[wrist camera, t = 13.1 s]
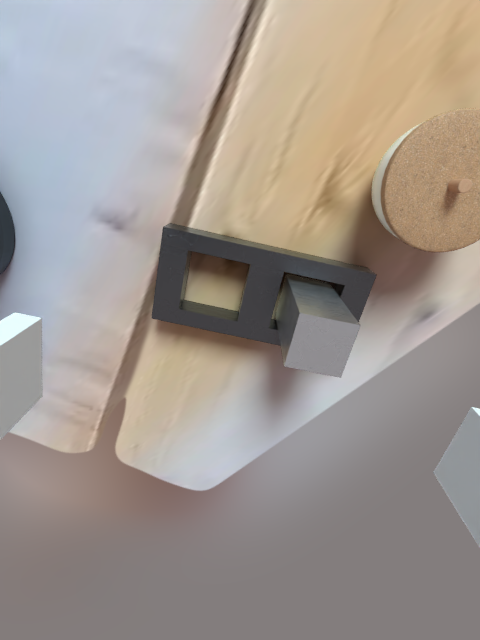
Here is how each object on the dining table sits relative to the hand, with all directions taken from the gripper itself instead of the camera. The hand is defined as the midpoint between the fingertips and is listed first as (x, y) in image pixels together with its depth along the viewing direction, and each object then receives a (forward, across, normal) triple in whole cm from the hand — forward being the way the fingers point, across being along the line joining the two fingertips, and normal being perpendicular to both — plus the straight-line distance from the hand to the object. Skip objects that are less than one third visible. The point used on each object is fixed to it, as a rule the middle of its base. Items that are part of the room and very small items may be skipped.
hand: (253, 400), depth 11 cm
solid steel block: (+29, +7, -5) cm, 30 cm away
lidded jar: (+29, +14, +9) cm, 33 cm away
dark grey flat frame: (+29, +2, -5) cm, 29 cm away
